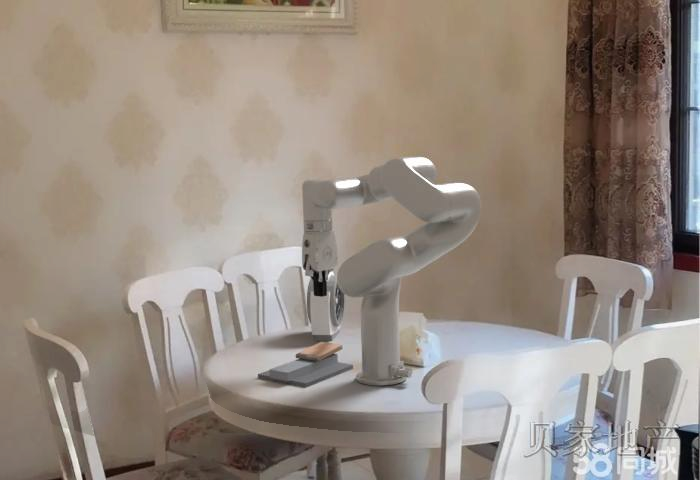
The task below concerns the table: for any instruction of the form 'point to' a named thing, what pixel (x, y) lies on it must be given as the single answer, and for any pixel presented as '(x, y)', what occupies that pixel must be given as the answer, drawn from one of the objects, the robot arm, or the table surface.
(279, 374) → the grey ridged base plate
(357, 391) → the table surface
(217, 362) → the table surface
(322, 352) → the flap
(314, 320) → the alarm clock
